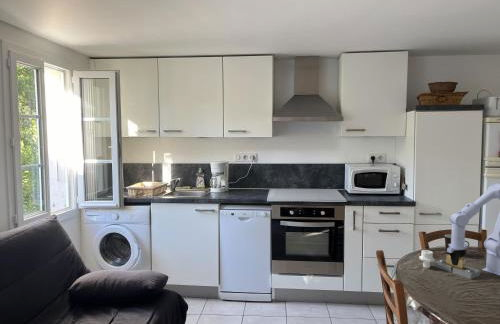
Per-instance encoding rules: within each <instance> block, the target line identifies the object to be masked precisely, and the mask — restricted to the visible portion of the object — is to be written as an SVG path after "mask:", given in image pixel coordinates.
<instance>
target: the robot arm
mask: <svg viewBox="0 0 500 324" xmlns="http://www.w3.org/2000/svg"><path fill="white" fill-rule="evenodd" d="M494 199H498V200H499V201H500V182H494V183H491V185H489V186H488V188H487V190H486V191H485V192H484V193H483V194H481V195H480V196H479V197H478V198H477V199H476V200H475V201H474V202H469V203H465V205H464V207H462V208H461V209H460V210H457V212H454V213H453V214H451V215H450V217H449V222H450V223H451V234H450V235H451V244H449V246H450V247H449V248H447V252H448V253H449V254H448V255H450V257H451V261H452V265H455V266H457V264H458V259H459V257H463V258H464V257H465V255H466V254H467V252H468V250H466V249H468V247H467V246H468V243H466V242H465V241H466V238H465V237H466V226H467V225H469V222H470V220H471V219H472V218H473V217H475V216H476V215H478V213H479V212H480V209H481V207H484V206H485V205H487V203H489V202H491V201H492V200H494ZM483 246H484V248H485V249H486V258H485V260H486V263H485V264H486V265H485V267H484V268H482V270H481V271H483V272H487V273H490V274H494V275H497V276H500V211H499V212H498V216H497V218H496V221H495V225H494V228H493V231H492V233H491V234H488V236H487V238H486V239H485V240H484V242H483ZM465 248H466V249H465Z"/></svg>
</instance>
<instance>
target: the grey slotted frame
mask: <svg viewBox="0 0 500 324" xmlns="http://www.w3.org/2000/svg"><path fill="white" fill-rule="evenodd" d="M433 262H434V263H433V267H435V268H438V269H441V270H443V271H447V272H449V273H452V274H454V275H457V276H460V277H464V278H467V279H468V280H469V279H470V280H473V279H474V278H476V277H480V275H481V270H479V269H476V268H473V267H470V266H466V267H465V270H462V269H459V268H456V267H454V268H453V266H450V265H446V258H445V259H443V258H442V259H439V260H435V261H433Z"/></svg>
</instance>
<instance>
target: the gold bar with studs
mask: <svg viewBox="0 0 500 324" xmlns="http://www.w3.org/2000/svg"><path fill="white" fill-rule="evenodd" d="M445 260H446V265H450V266H453V268H454V267H456V268H459V269H462V270H465V267H466V263H467V260H466V258H464V257H459V259H458V264H457V266H455V265H452V261H451V257H450V255H449V254H446V255H445Z"/></svg>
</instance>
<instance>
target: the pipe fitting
mask: <svg viewBox="0 0 500 324" xmlns="http://www.w3.org/2000/svg"><path fill="white" fill-rule="evenodd" d="M433 256H434V252H433V251H431V250H428V249H422V250H421V255H419V257H418V259H419V260H420V261H421V262H422V267H423V268H426V269H429V268H430V267H431V263H432V262H436V259H435V258H434V257H433Z"/></svg>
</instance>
